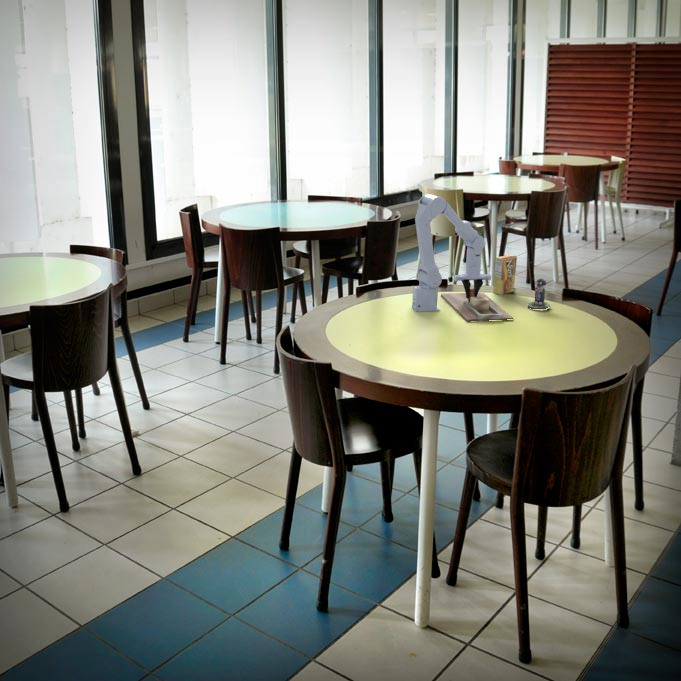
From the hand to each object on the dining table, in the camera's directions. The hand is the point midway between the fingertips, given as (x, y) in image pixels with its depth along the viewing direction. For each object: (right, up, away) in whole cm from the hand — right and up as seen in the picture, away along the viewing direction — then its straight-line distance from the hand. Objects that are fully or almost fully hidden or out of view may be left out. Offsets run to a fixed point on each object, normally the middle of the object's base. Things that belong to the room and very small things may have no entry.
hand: (471, 297), depth 336 cm
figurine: (+26, -4, -4) cm, 27 cm away
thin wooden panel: (+1, -4, -5) cm, 6 cm away
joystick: (+1, -3, -5) cm, 6 cm away
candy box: (+16, +3, +18) cm, 25 cm away
